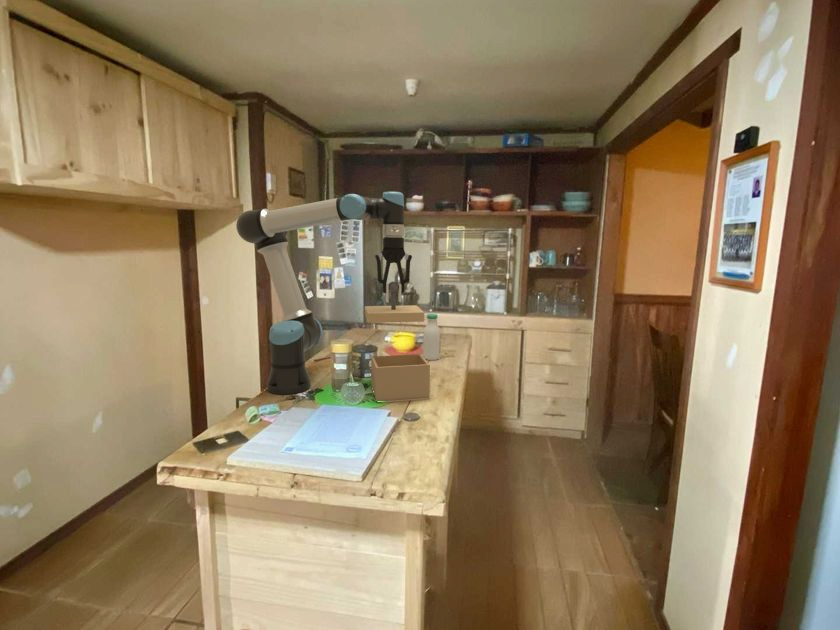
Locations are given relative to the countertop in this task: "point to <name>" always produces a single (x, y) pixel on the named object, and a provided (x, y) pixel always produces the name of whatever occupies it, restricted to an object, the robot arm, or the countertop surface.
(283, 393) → the robot arm
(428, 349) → the milk bottle
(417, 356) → the carton
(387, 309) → the carton lid
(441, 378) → the countertop surface
